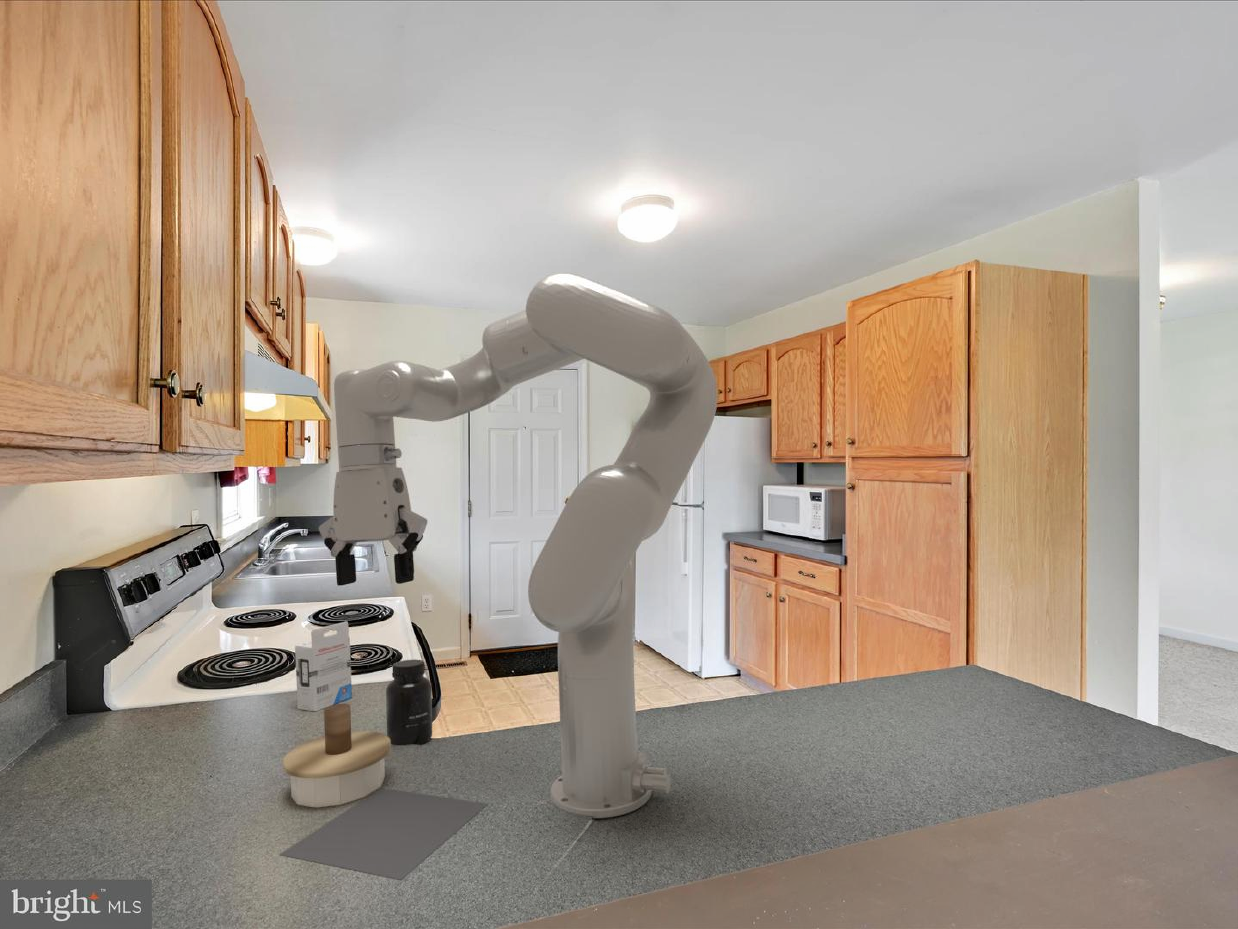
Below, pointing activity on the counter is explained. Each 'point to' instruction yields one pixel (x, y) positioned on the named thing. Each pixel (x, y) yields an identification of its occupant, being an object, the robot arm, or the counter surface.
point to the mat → (386, 833)
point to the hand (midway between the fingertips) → (375, 583)
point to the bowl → (337, 787)
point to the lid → (337, 748)
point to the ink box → (324, 668)
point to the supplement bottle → (409, 704)
